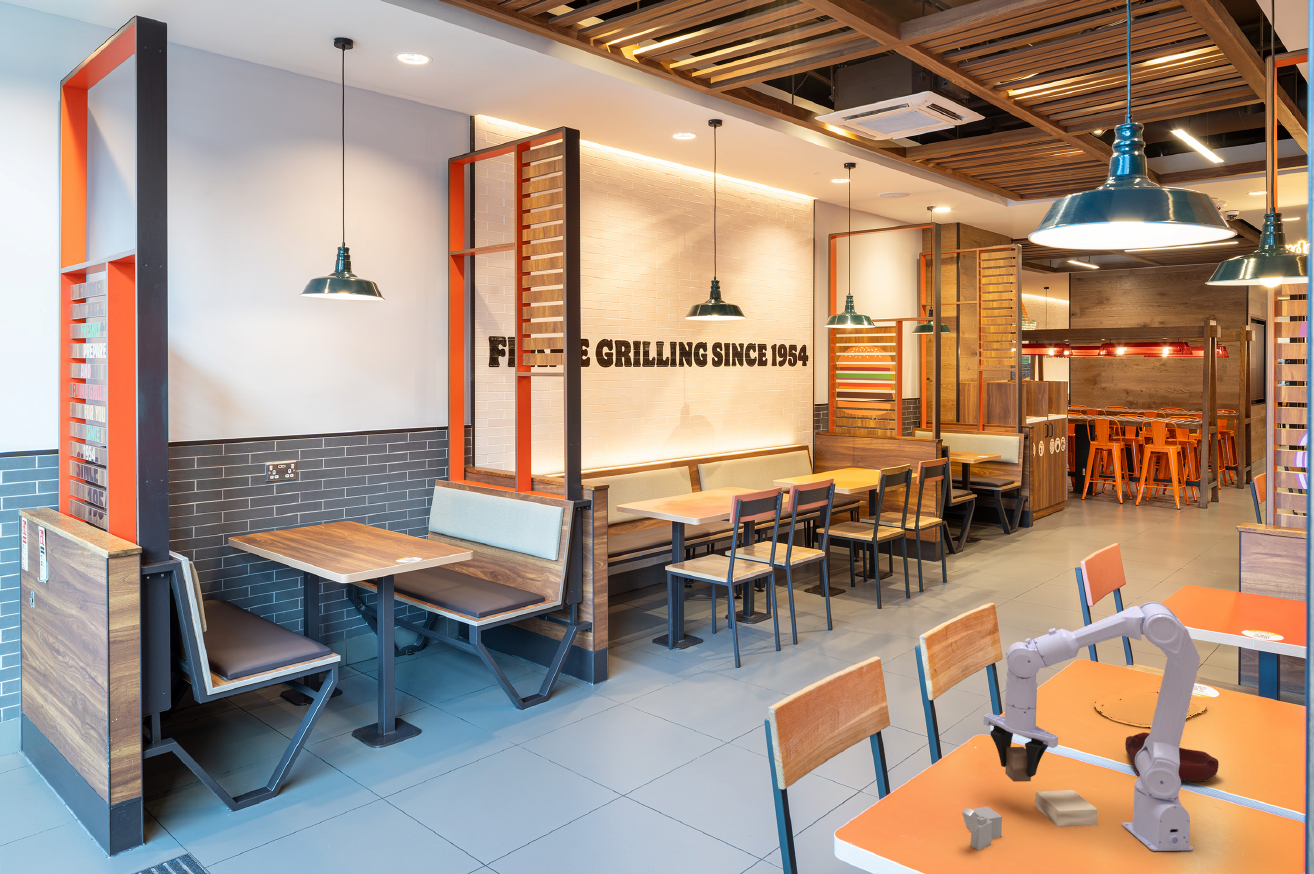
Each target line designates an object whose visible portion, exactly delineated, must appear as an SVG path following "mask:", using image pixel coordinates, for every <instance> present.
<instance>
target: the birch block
mask: <svg viewBox="0 0 1314 874" xmlns="http://www.w3.org/2000/svg"><path fill="white" fill-rule="evenodd" d="M1034 801H1035V803H1034V807H1035V808H1036V809H1037V810H1039V812H1040V813H1042V815H1044V816H1045V817H1046V818H1047V819H1048V820H1049V821H1050V822H1052V823H1053V824H1054V825H1055V826H1056V827H1058V828H1063V827H1064V828H1065V827H1066V828H1067V827H1086V826H1087V827H1089V826H1090V827H1091V826H1097V825H1098V823H1097V821H1098V820H1097V819H1098V808H1096V807H1095V806H1094V805H1093V804H1091V803H1090V802H1088V801H1087V800H1086V799H1085V798H1084V797H1082V796H1081V795H1080V794H1078V793H1077V792H1076V791H1075V790H1073V789H1066V790H1065V789H1063V790H1061V789H1060V790H1042V791H1041V790H1038V791H1035V800H1034Z"/></svg>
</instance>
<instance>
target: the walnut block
mask: <svg viewBox="0 0 1314 874" xmlns="http://www.w3.org/2000/svg"><path fill="white" fill-rule="evenodd" d="M1004 771H1005V773H1004V774H1005V775H1006V776H1007V777H1008V778H1009V779H1010V780H1011V781H1012V782H1016V783H1017V782H1024V783H1025V782H1031V781H1032V777H1029V776H1027V753H1026V748H1025V746H1011V747H1006V767H1005V770H1004Z"/></svg>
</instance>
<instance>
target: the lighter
mask: <svg viewBox="0 0 1314 874" xmlns="http://www.w3.org/2000/svg"><path fill="white" fill-rule="evenodd" d="M971 809H972V808H969V807H967V806H966V807H965V808H964V810H963V811H962V812H961V814H962V817H963V820H964V824H965V827H966V828H967V829H968V830H969V831H970V847H971V848H973V849H975V850H977V851H980V850H982V849H984V848H986V847H988V846H990V845H992V839H991V834H992V821H990V820H988V819H987V817H986V816H979V817H977V819H976V815H975V812H974V811H973V810H971Z"/></svg>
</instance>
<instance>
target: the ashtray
mask: <svg viewBox="0 0 1314 874" xmlns="http://www.w3.org/2000/svg"><path fill="white" fill-rule="evenodd" d="M1149 734H1150V732H1140V733H1137V734H1134V735H1133V736H1132V735H1129V736H1127V737H1126V738H1125V741H1124V742H1125V743H1124V744H1125V751H1126V754H1127V756H1128V758H1129V760H1130V762H1131V765H1132V767H1133V769H1134V770H1133V771H1135V773H1136V774H1137V775H1138V777H1139V776H1140V773H1139V771H1138V770H1137V768H1136V765H1135V756H1136V754H1137V753H1138V751H1140V750H1141V749H1142V747H1143V746H1144V742H1145V739H1146V738H1147V737H1148V736H1149ZM1179 758H1180V766H1179V771H1178V772H1179V777H1180V780H1181V781H1187V782H1188V781H1190V782H1206V781H1205V780H1208V779H1209V780H1210V779H1213V778H1214V777H1215V776H1216V774H1217V773H1218V771H1219V766H1220V765H1219V760H1218V758H1215V757H1213V756H1212V755H1210V754H1209V753H1208V752H1205V751H1203V750H1195V749H1188V748H1183V747H1180V746H1179Z"/></svg>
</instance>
